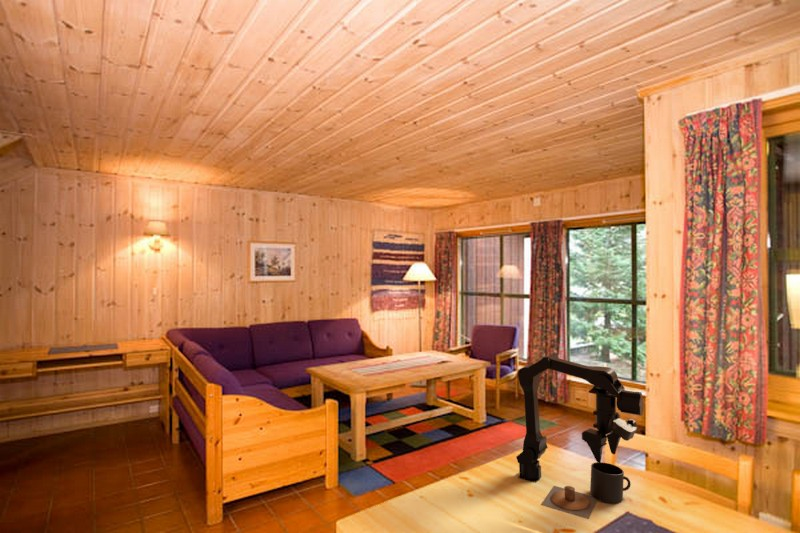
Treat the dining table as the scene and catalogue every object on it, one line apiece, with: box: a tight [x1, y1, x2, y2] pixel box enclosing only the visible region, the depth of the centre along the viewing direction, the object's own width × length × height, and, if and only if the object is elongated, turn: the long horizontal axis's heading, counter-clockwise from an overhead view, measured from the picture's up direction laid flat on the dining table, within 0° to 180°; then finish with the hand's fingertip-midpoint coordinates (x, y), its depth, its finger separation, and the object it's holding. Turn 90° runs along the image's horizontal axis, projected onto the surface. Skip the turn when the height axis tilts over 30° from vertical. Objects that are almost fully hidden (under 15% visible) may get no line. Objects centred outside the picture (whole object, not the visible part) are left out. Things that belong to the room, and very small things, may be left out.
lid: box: [551, 485, 589, 511], centre depth 137 cm, size 11×11×4 cm
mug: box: [589, 461, 632, 505], centre depth 140 cm, size 9×12×9 cm
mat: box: [540, 485, 598, 520], centre depth 137 cm, size 14×14×1 cm
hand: (606, 457), depth 138 cm, fingers open, 9 cm apart
